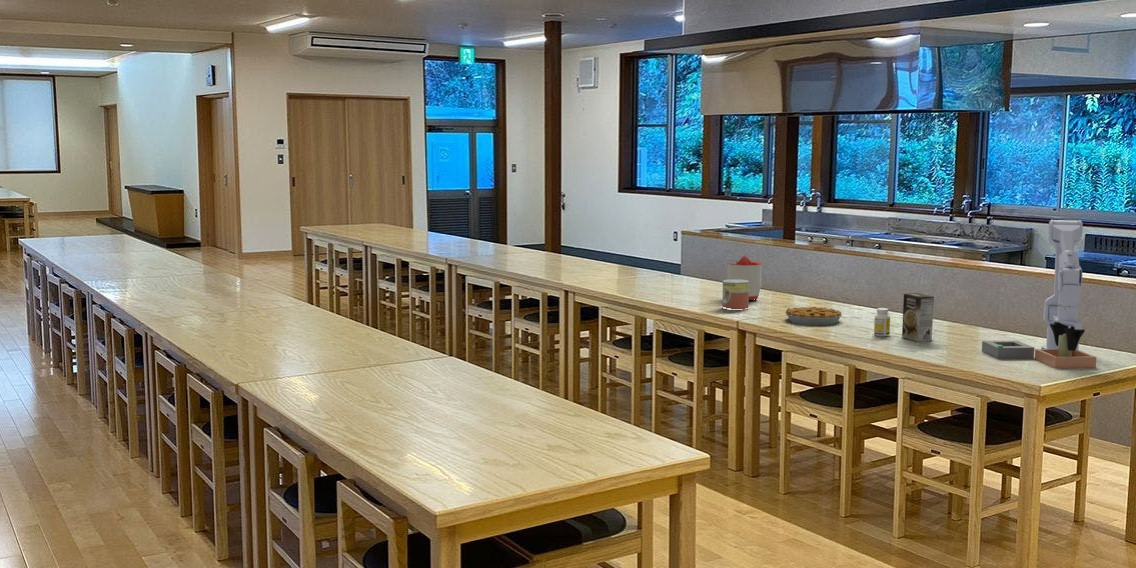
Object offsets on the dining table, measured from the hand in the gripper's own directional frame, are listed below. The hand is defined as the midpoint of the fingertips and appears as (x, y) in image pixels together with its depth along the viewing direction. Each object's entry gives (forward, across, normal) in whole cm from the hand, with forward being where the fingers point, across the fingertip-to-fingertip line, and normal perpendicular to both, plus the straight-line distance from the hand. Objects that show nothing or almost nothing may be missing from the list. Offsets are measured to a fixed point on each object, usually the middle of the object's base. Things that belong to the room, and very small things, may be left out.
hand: (1065, 348), depth 321 cm
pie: (+5, -81, -59) cm, 100 cm away
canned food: (+5, -113, -84) cm, 141 cm away
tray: (+5, 0, 0) cm, 5 cm away
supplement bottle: (+5, -50, -42) cm, 65 cm away
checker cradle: (+5, -14, -12) cm, 19 cm away
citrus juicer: (+5, -138, -76) cm, 158 cm away
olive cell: (+4, 0, 0) cm, 4 cm away
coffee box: (+5, -42, -32) cm, 53 cm away
